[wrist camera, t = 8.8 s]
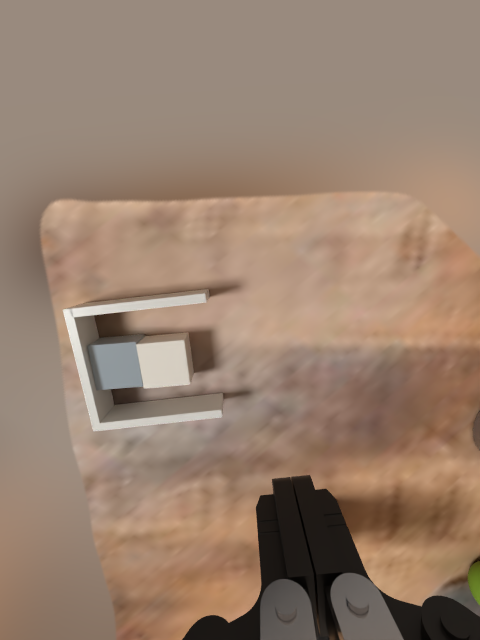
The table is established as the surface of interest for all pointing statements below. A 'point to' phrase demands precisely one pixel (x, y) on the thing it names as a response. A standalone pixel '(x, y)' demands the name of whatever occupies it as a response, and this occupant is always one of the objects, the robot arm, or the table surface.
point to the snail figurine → (475, 580)
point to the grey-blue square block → (116, 362)
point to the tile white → (165, 360)
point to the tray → (102, 401)
